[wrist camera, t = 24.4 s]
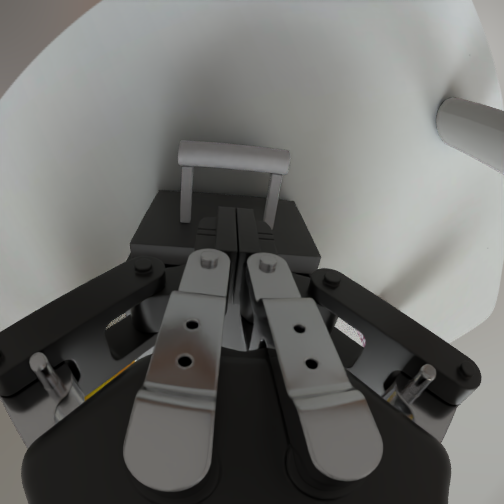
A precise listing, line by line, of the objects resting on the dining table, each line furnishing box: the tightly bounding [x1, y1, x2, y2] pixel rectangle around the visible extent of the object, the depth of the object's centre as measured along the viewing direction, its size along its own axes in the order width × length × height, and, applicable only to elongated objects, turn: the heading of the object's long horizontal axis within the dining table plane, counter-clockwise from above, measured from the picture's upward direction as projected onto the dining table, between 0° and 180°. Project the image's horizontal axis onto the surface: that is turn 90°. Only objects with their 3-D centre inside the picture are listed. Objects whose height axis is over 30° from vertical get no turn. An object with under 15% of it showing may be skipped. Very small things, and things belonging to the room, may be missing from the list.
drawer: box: [130, 140, 321, 274], centre depth 20 cm, size 17×10×8 cm, turn 173°
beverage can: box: [436, 97, 504, 175], centre depth 15 cm, size 5×5×12 cm
